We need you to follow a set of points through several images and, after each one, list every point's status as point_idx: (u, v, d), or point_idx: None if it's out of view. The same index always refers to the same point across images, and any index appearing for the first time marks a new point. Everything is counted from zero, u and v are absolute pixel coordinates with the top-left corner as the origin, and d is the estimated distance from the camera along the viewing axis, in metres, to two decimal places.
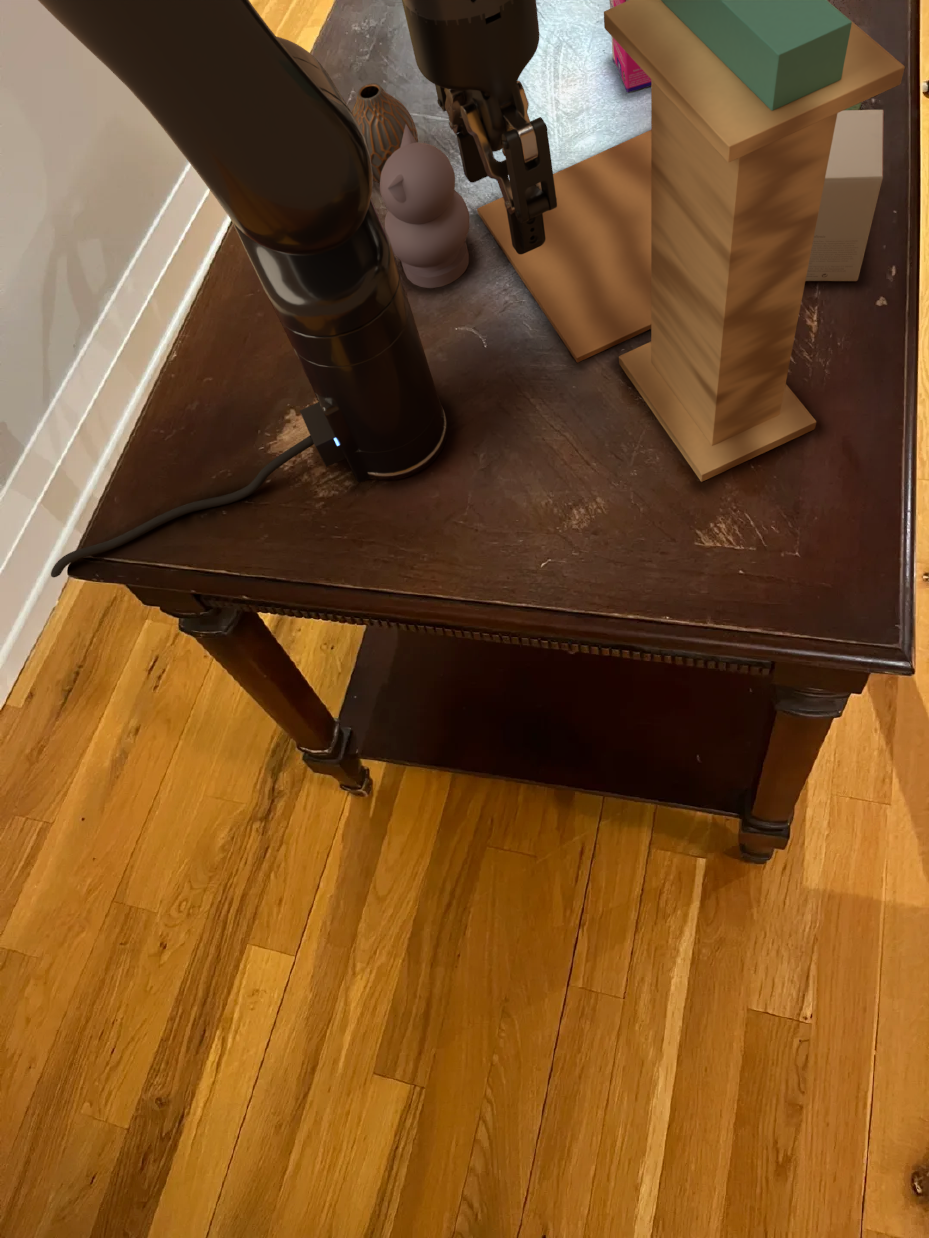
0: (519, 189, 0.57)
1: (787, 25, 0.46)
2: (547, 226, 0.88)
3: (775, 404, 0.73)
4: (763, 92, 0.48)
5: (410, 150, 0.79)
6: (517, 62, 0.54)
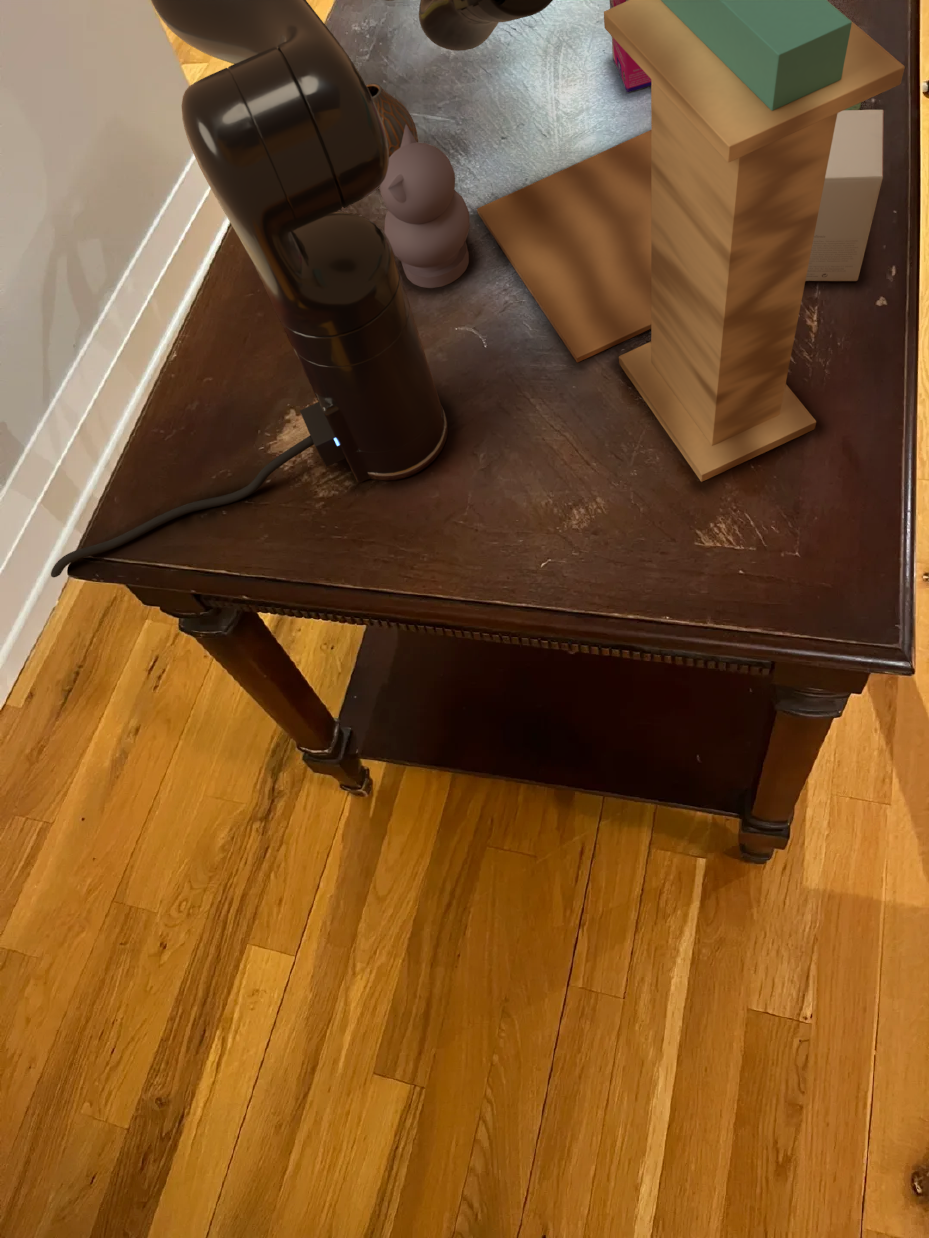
0: (462, 6, 0.71)
1: (787, 25, 0.46)
2: (547, 226, 0.88)
3: (775, 404, 0.73)
4: (763, 92, 0.48)
5: (410, 150, 0.79)
6: None
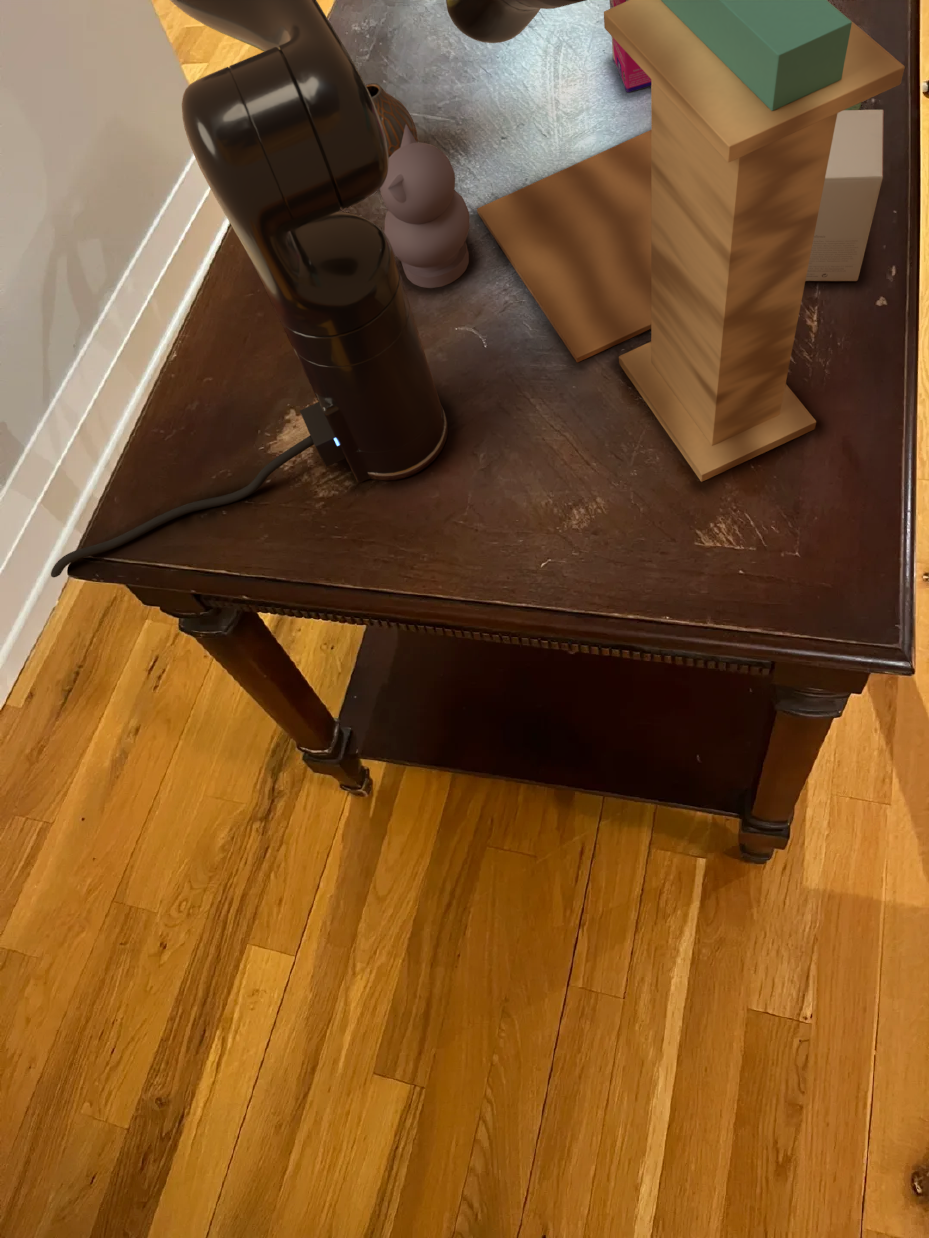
0: None
1: (787, 25, 0.46)
2: (547, 226, 0.88)
3: (775, 404, 0.73)
4: (763, 92, 0.48)
5: (410, 150, 0.79)
6: None
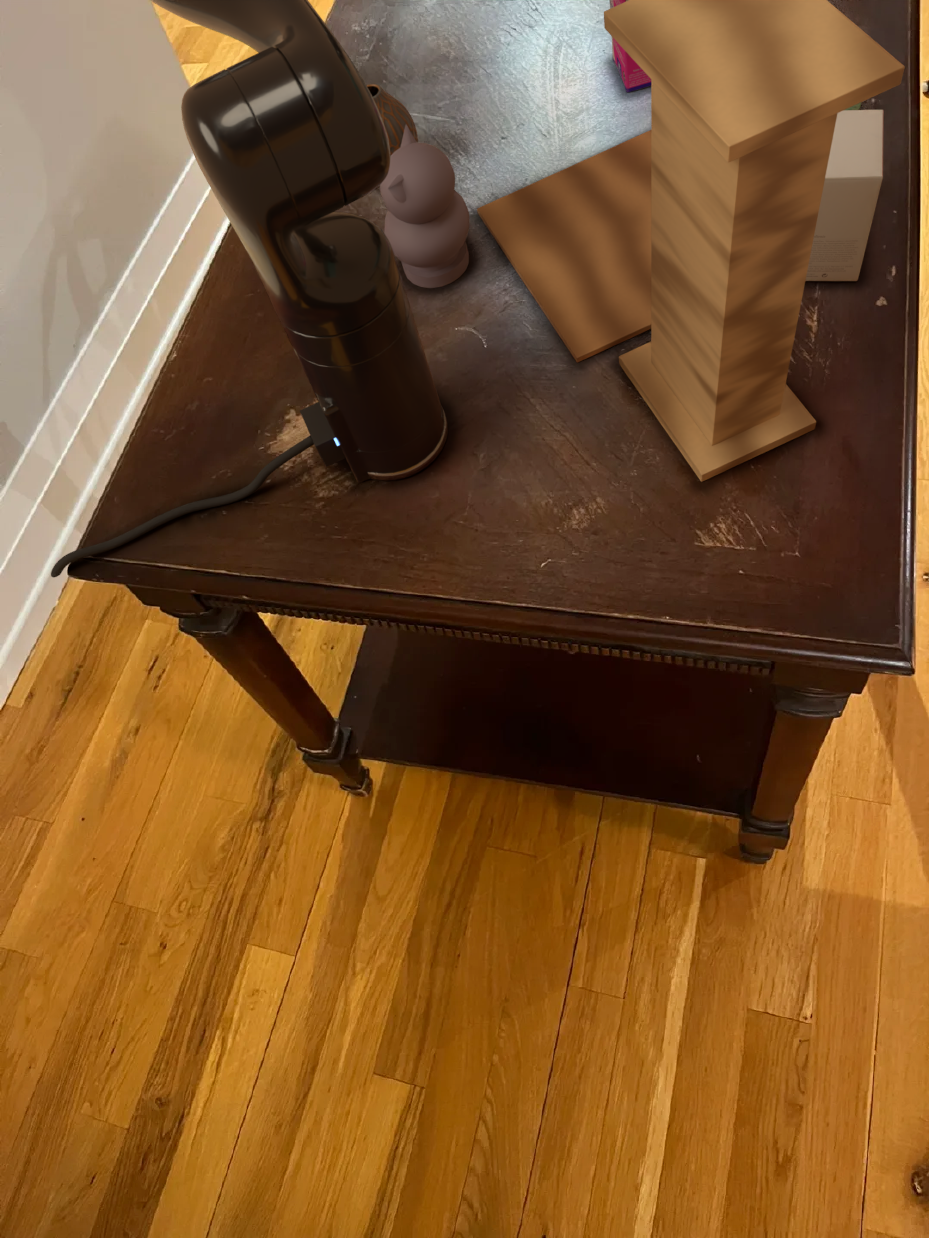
0: None
1: None
2: (547, 226, 0.88)
3: (775, 404, 0.73)
4: None
5: (410, 150, 0.79)
6: None
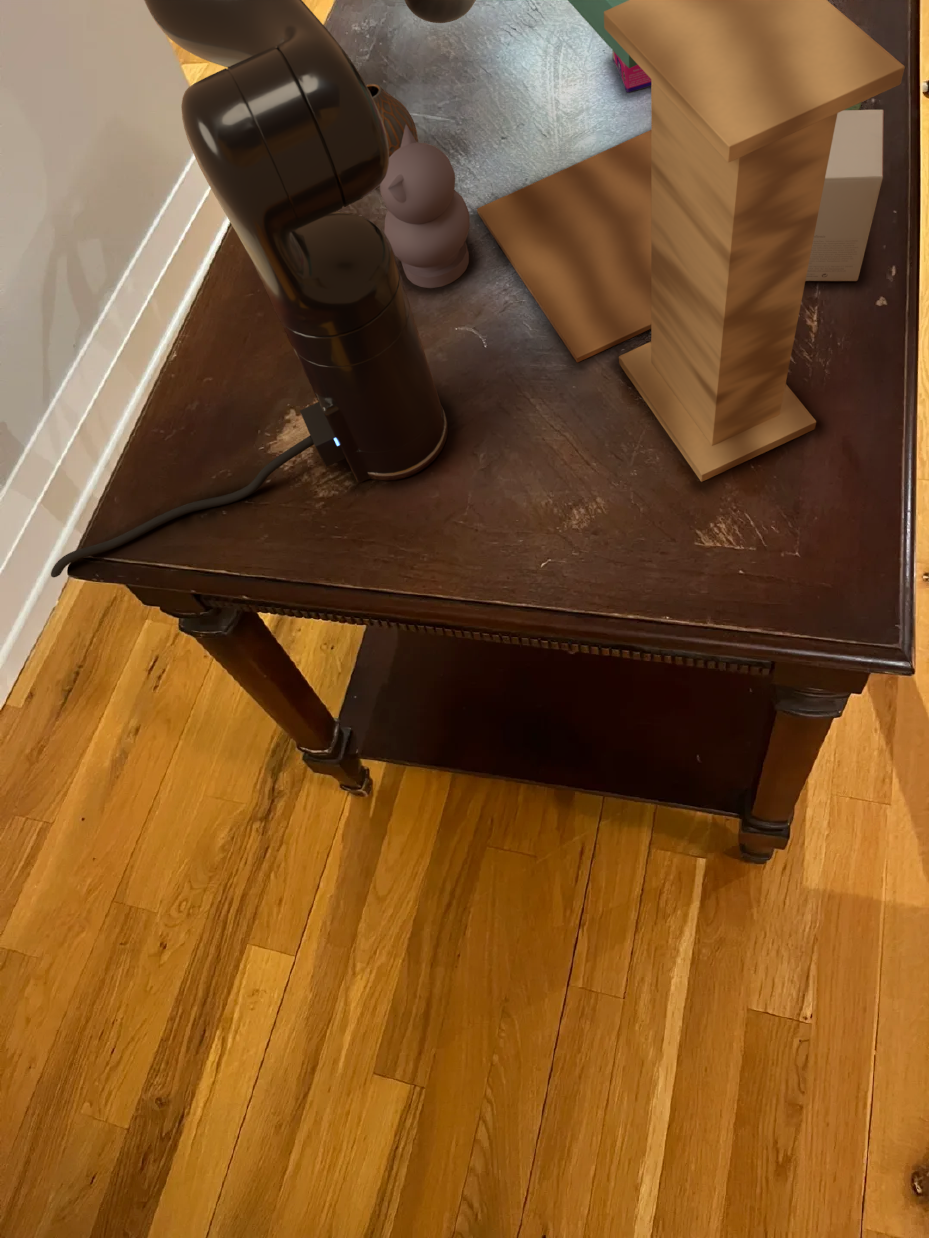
0: None
1: None
2: (547, 226, 0.88)
3: (775, 404, 0.73)
4: (622, 54, 0.61)
5: (410, 150, 0.79)
6: None
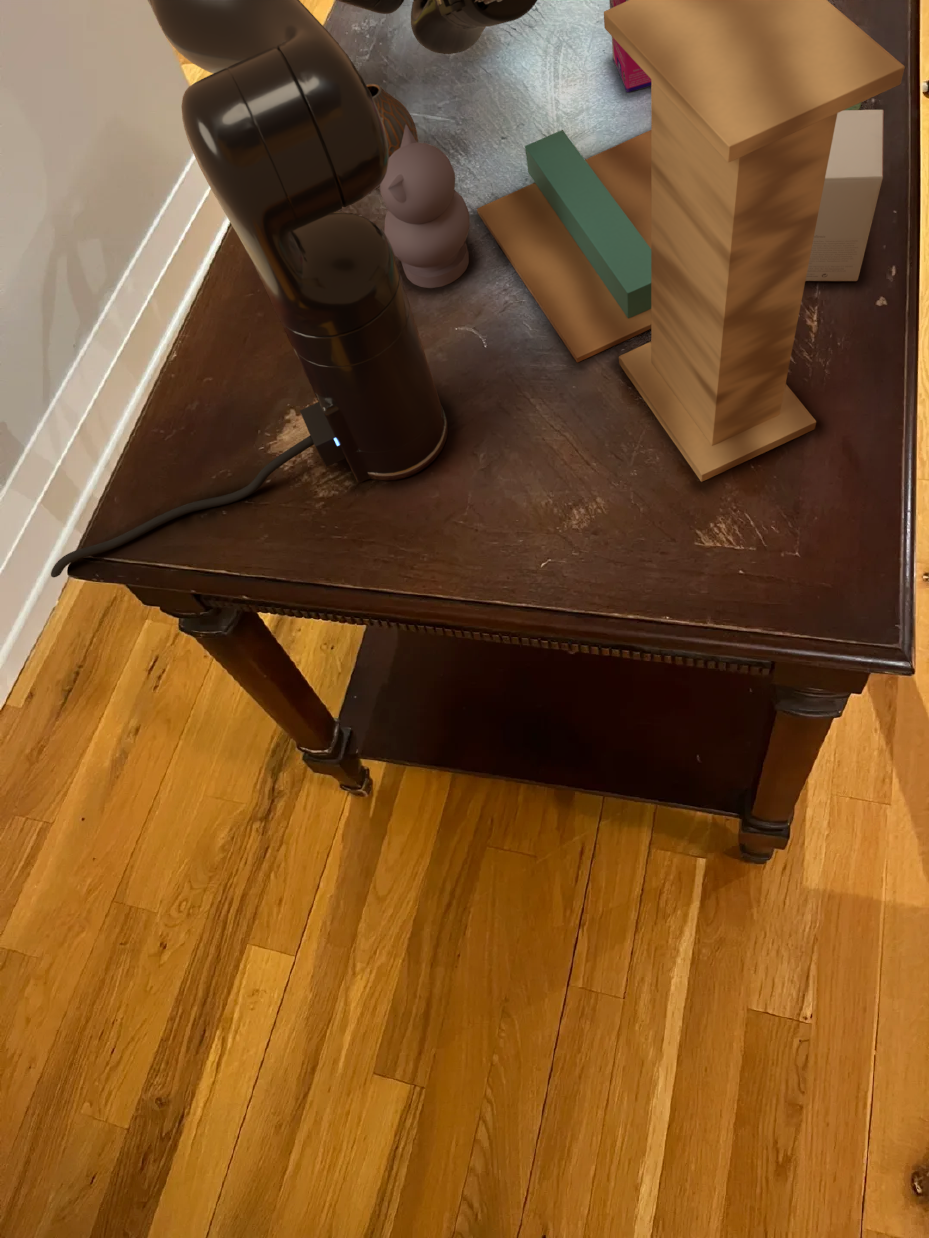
0: (446, 11, 0.76)
1: (634, 273, 0.80)
2: (547, 226, 0.88)
3: (775, 404, 0.73)
4: (623, 308, 0.82)
5: (410, 150, 0.79)
6: None
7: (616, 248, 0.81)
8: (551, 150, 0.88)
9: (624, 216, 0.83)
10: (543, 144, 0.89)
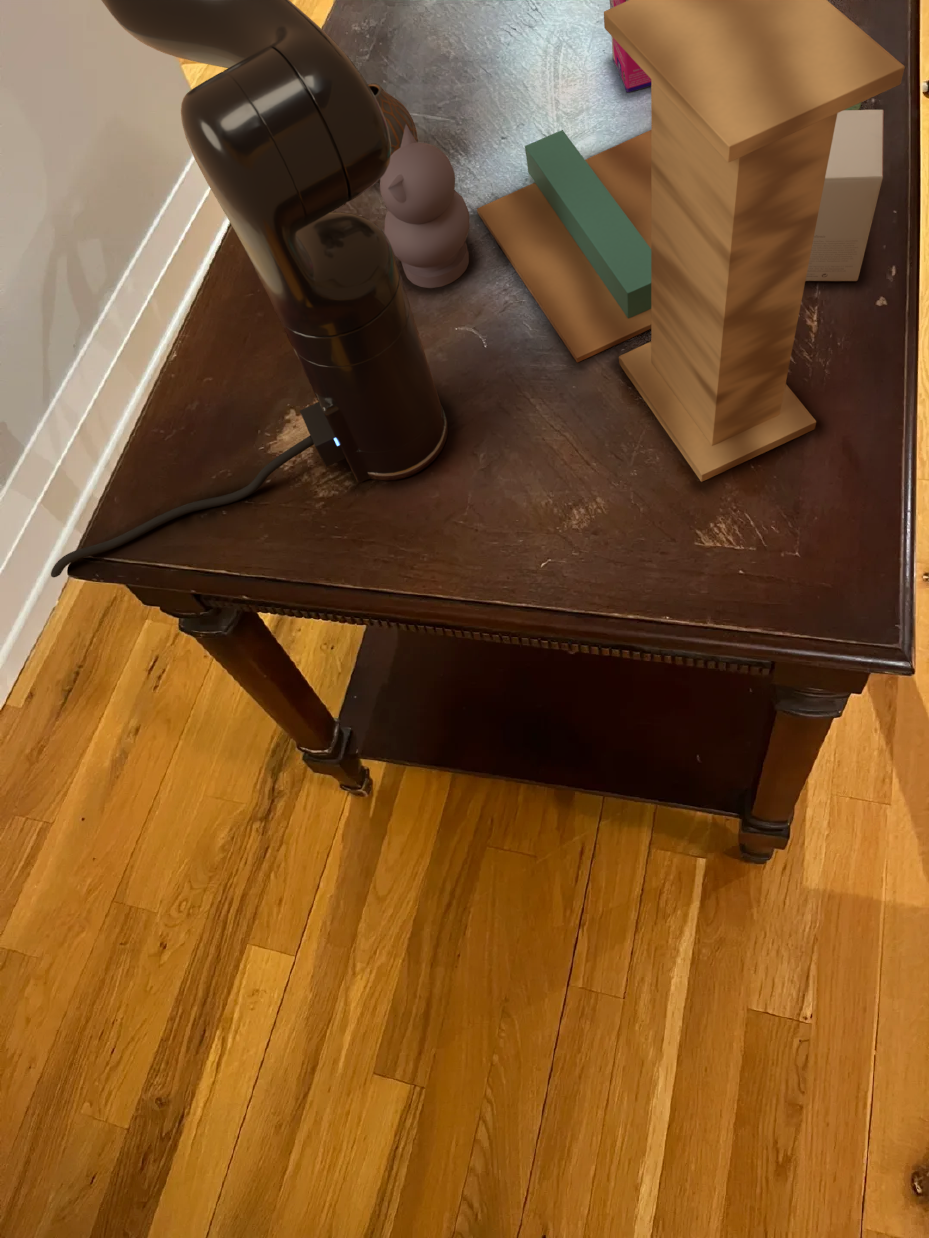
0: None
1: (634, 273, 0.80)
2: (547, 226, 0.88)
3: (775, 404, 0.73)
4: (623, 308, 0.82)
5: (410, 150, 0.79)
6: None
7: (616, 248, 0.81)
8: (551, 150, 0.88)
9: (624, 216, 0.83)
10: (543, 144, 0.89)
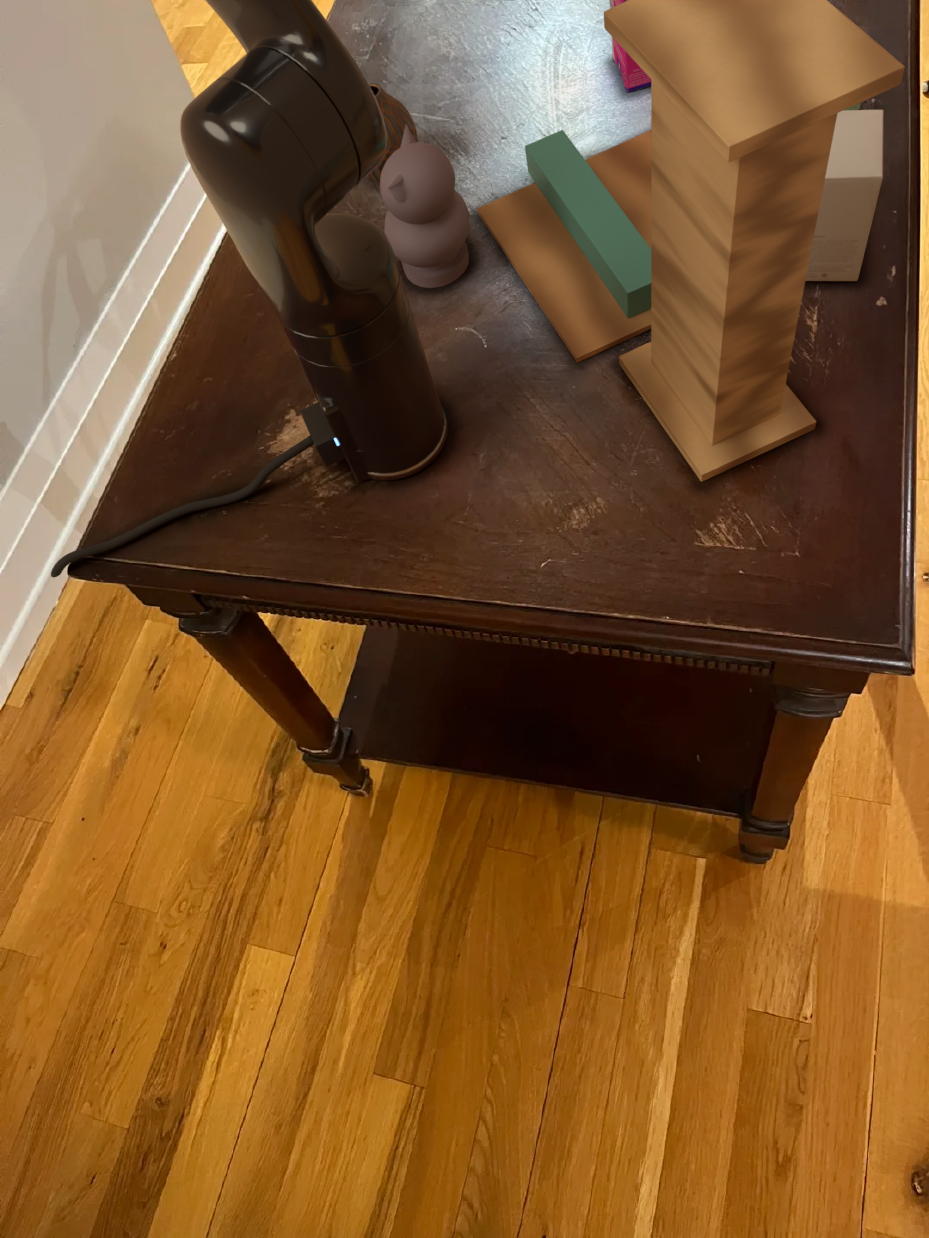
0: None
1: (634, 273, 0.80)
2: (547, 226, 0.88)
3: (775, 404, 0.73)
4: (623, 308, 0.82)
5: (410, 150, 0.79)
6: None
7: (616, 248, 0.81)
8: (551, 150, 0.88)
9: (624, 216, 0.83)
10: (543, 144, 0.89)
